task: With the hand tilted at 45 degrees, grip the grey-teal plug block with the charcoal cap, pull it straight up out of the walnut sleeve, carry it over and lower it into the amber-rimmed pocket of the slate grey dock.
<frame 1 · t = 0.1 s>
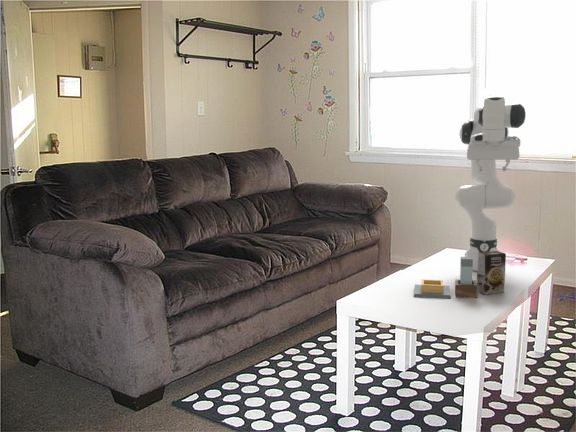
hand: (492, 170, 258), 48 cm above the table, tool pointing down, fingers open, 8 cm apart
coffee box: (490, 292, 256), on the table
plug: (466, 276, 251), in the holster
dock: (432, 292, 256), on the table
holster: (465, 294, 252), on the table
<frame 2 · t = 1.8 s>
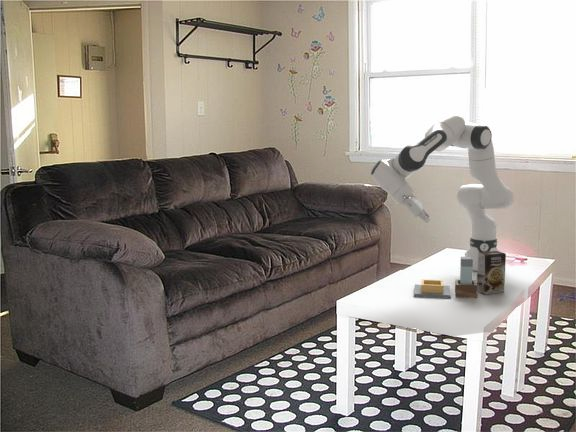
hand: (428, 219, 251), 30 cm above the table, tool tilted 45°, fingers open, 8 cm apart
nothing on the table moved.
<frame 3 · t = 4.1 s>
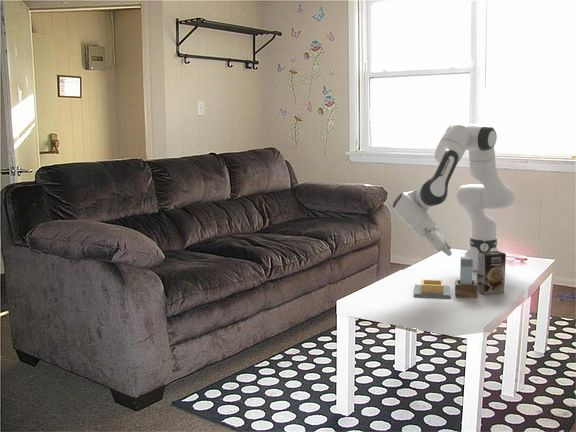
hand: (450, 252, 251), 17 cm above the table, tool tilted 45°, fingers open, 8 cm apart
nothing on the table moved.
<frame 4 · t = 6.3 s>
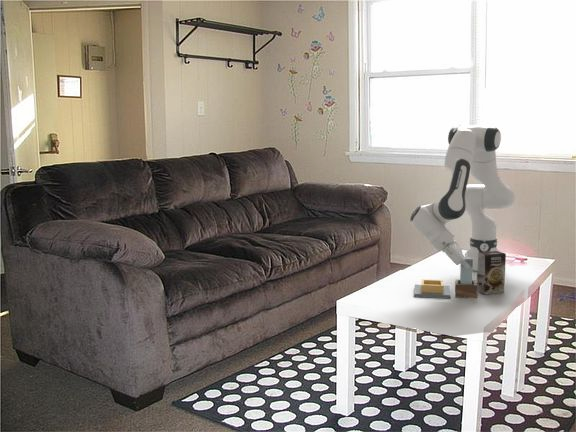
hand: (468, 265, 251), 12 cm above the table, tool tilted 45°, fingers closed on plug, 4 cm apart
plug: (466, 276, 251), in the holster, touching gripper
everything else where it was.
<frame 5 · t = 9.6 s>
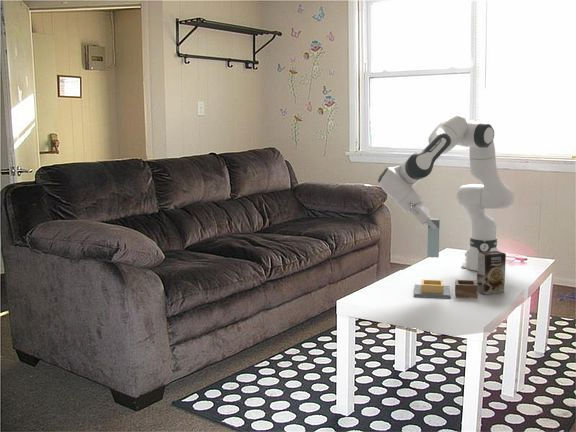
hand: (435, 226, 252), 27 cm above the table, tool tilted 45°, fingers closed on plug, 4 cm apart
plug: (433, 237, 253), point 23 cm above the table, touching gripper
everything else where it was.
when the fingers open (14 cm above the table, at t = 13.0 s): plug stays where it is, resting on dock.
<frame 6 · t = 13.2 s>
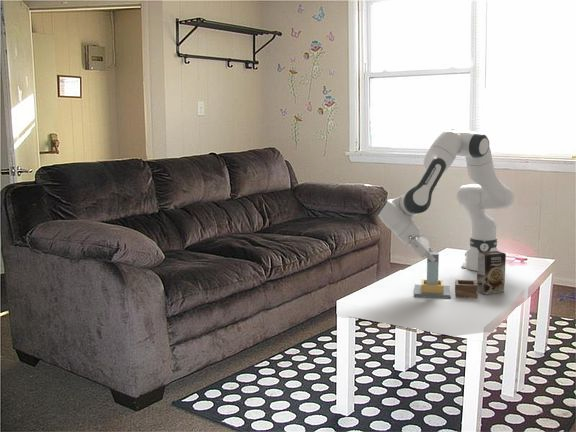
hand: (434, 258, 254), 14 cm above the table, tool tilted 45°, fingers open, 6 cm apart
plug: (432, 271, 255), in the dock, point 9 cm above the table
everything else where it was.
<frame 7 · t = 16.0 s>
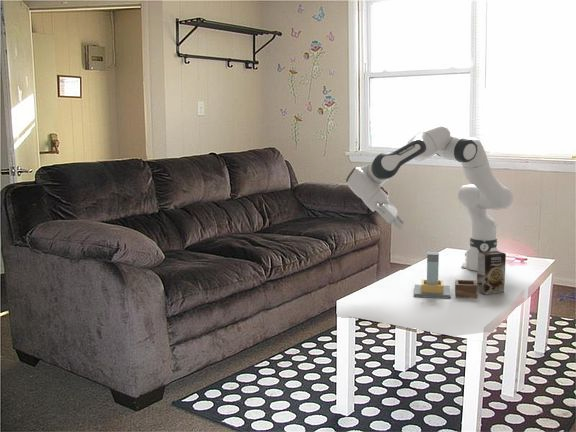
hand: (402, 225, 254), 27 cm above the table, tool tilted 45°, fingers open, 8 cm apart
nothing on the table moved.
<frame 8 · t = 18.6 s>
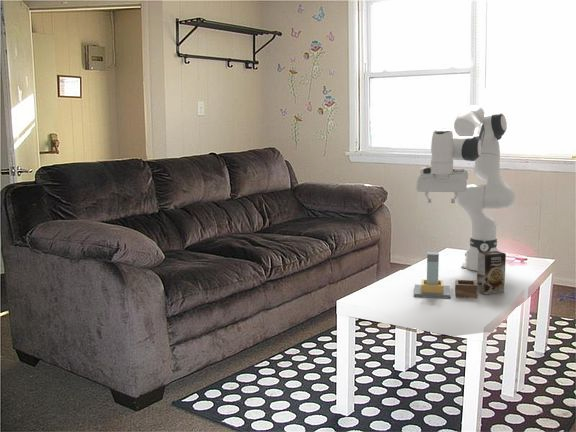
hand: (441, 202, 261), 35 cm above the table, tool pointing down, fingers open, 8 cm apart
nothing on the table moved.
at the end: plug 0.1 cm off-centre on the dock, point 8.7 cm above the dock's base; plug tilted 0°; the gripper is holding nothing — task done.
